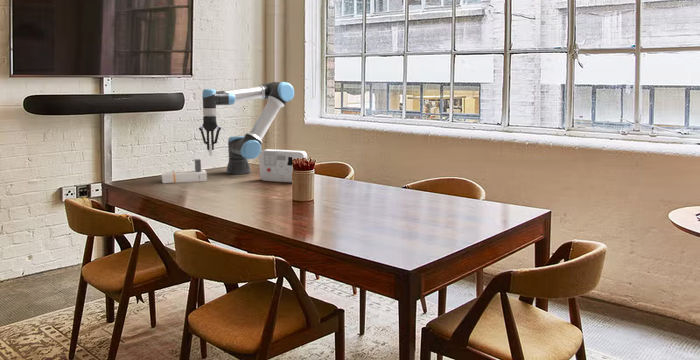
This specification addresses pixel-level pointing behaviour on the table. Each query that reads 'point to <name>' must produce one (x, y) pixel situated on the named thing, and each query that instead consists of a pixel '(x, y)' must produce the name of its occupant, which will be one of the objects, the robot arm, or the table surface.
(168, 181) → the console
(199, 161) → the fader
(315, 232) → the table surface
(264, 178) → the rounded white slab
